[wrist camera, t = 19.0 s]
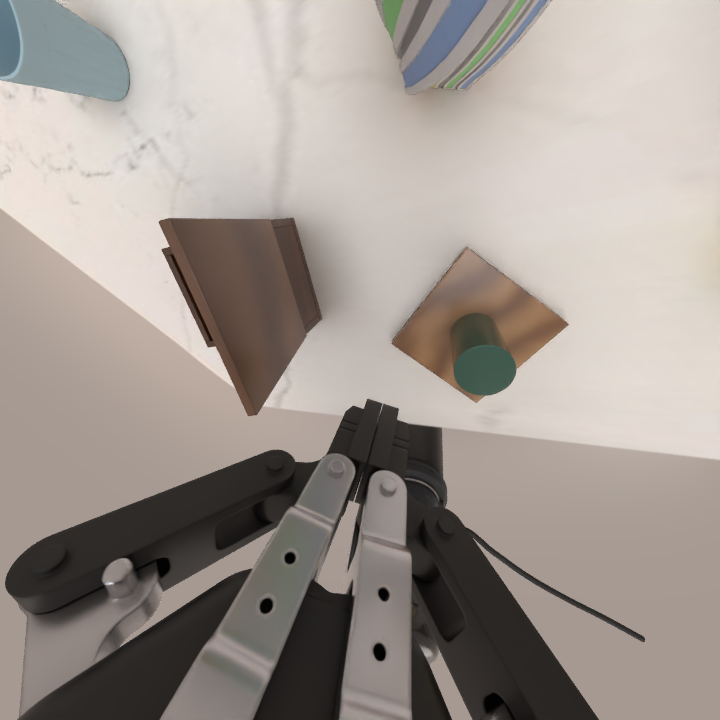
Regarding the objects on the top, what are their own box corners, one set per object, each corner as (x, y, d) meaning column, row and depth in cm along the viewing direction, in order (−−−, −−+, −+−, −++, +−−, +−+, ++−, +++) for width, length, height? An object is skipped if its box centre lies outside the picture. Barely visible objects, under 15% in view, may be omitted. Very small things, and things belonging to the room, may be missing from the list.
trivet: (565, 321, 33) (569, 324, 32) (475, 398, 40) (476, 403, 39) (466, 247, 31) (467, 248, 31) (392, 340, 38) (391, 343, 38)
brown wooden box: (233, 331, 44) (207, 347, 39) (196, 243, 38) (161, 249, 34) (322, 318, 39) (305, 335, 34) (293, 217, 34) (269, 219, 29)
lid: (248, 416, 20) (257, 415, 20) (157, 221, 15) (169, 217, 15) (301, 336, 34) (306, 335, 34) (263, 220, 29) (270, 219, 29)
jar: (508, 330, 33) (530, 368, 26) (474, 362, 36) (485, 405, 28) (471, 303, 33) (482, 333, 25) (440, 338, 36) (441, 374, 28)
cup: (117, 131, 34) (4, 103, 25) (65, 59, 32) (-81, 1, 23) (151, 79, 31) (34, 27, 22) (95, -4, 29) (-60, -100, 20)
